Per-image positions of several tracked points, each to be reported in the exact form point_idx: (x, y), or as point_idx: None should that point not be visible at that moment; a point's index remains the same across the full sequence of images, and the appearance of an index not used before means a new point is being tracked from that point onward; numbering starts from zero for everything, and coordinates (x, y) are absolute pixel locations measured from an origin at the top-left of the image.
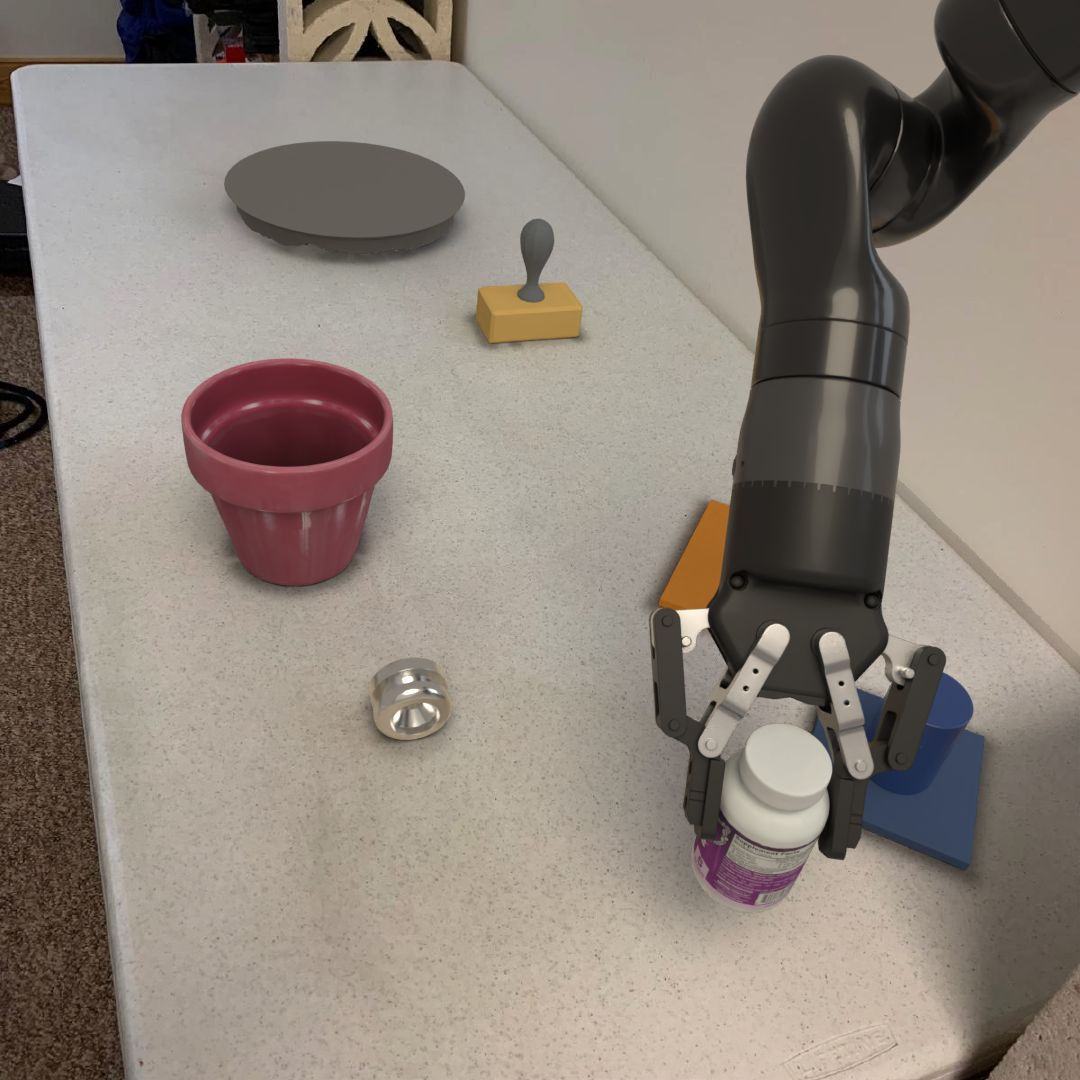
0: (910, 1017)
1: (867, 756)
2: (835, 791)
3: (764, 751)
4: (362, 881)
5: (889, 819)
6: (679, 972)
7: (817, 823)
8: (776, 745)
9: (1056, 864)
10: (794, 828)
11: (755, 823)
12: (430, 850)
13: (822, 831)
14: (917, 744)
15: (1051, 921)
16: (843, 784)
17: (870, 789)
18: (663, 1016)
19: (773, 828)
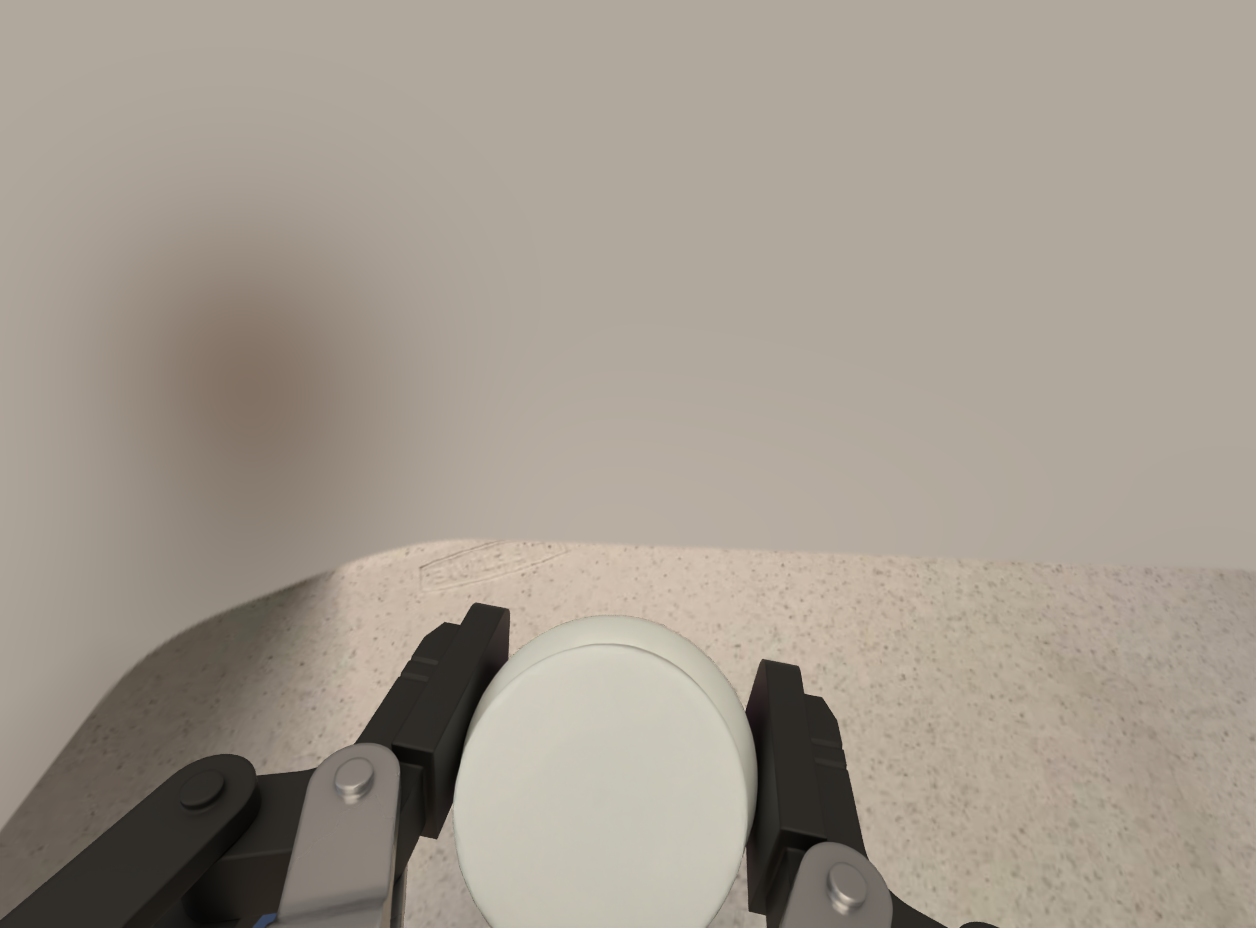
0: (388, 597)
1: (317, 808)
2: (451, 736)
3: (680, 830)
4: (1133, 830)
5: (259, 925)
6: None
7: (528, 652)
8: (631, 858)
9: (28, 827)
10: (596, 633)
11: (691, 653)
12: (1042, 887)
13: None
14: (108, 835)
15: (110, 725)
16: (428, 738)
17: None
18: (700, 611)
19: (649, 634)
